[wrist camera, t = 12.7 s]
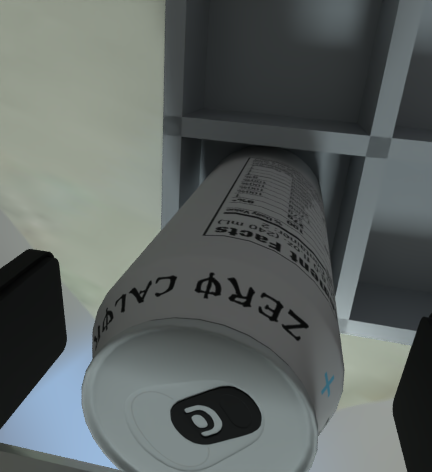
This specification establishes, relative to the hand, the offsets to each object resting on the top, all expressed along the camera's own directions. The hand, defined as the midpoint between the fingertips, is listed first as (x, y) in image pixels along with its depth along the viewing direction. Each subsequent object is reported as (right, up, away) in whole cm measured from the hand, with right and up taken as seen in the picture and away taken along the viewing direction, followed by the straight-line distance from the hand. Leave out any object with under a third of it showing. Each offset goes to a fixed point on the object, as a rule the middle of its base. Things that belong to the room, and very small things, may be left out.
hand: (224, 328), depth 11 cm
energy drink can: (+2, +4, +11) cm, 12 cm away
